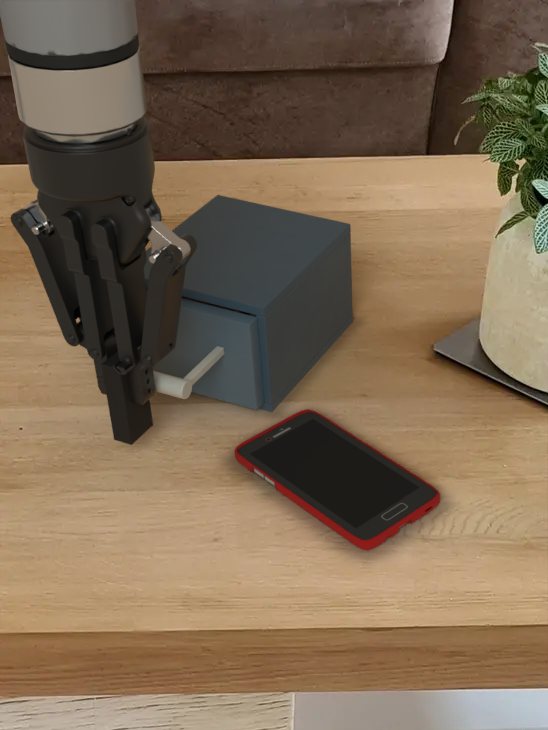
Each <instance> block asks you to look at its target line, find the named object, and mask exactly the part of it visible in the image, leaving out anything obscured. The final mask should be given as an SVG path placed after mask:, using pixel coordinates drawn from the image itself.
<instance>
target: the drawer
mask: <svg viewBox="0 0 548 730" xmlns="http://www.w3.org/2000/svg"><path fill="white" fill-rule="evenodd" d="M147 289H148V288H147V287H146V290H147ZM153 374H154V381H155V388H156V390H155V393H159V394H164V395H168V396H170V397H174V398H177V399H182V400H187V399H188V398H190V396H191V394H192V393H193V394H197V395H200V396H203V397H208V398H211V399H214V400H219V401H222V402H226V403H229V404H233V405H237V406H241V407H244V408H247V409H251V410H255V411H258V410H260V409H259V407H260V406H261V405H262V404H263V403H264V392H263V380H262V368H261V356H260V344H259V333H258V321H257V317H256V315H255V314H251V313H250V315H247V314H243V313H239V312H235V311H231V310H227V309H223V308H219V307H215V306H211V305H207V304H203V303H199V302H195V301H191V300H187V299H183V296H182V300H181V308H180V316H179V323H178V331H177V339H176V346H175V349H174V350H173V351H171V352H170V353H169V354H168V355H167V356H166V357H165V358H163V359H162V360H161V361H160V362H159V363H158V364H156V365H155V366H154V367H153Z"/></svg>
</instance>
